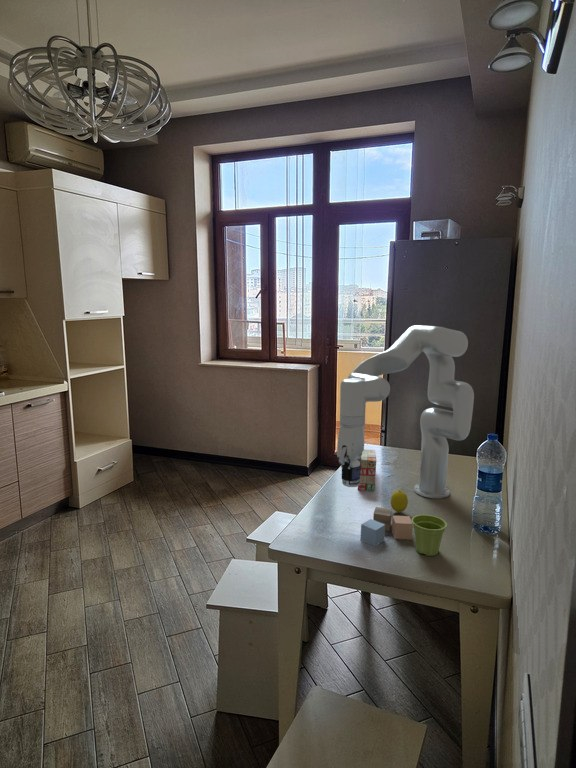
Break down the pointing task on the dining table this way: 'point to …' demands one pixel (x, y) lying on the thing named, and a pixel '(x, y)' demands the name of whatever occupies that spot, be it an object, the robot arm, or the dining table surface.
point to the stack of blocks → (367, 470)
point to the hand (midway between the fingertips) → (351, 476)
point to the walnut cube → (383, 516)
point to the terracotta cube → (402, 527)
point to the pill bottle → (353, 473)
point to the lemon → (399, 501)
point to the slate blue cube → (372, 532)
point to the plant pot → (428, 533)
